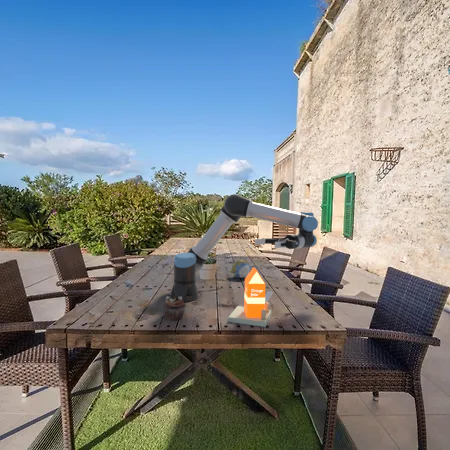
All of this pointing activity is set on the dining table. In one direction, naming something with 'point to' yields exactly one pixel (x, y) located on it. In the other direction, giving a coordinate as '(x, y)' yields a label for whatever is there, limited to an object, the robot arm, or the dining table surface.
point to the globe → (240, 269)
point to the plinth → (241, 317)
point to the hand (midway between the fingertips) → (264, 243)
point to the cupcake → (174, 307)
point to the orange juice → (254, 294)
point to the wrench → (268, 296)
